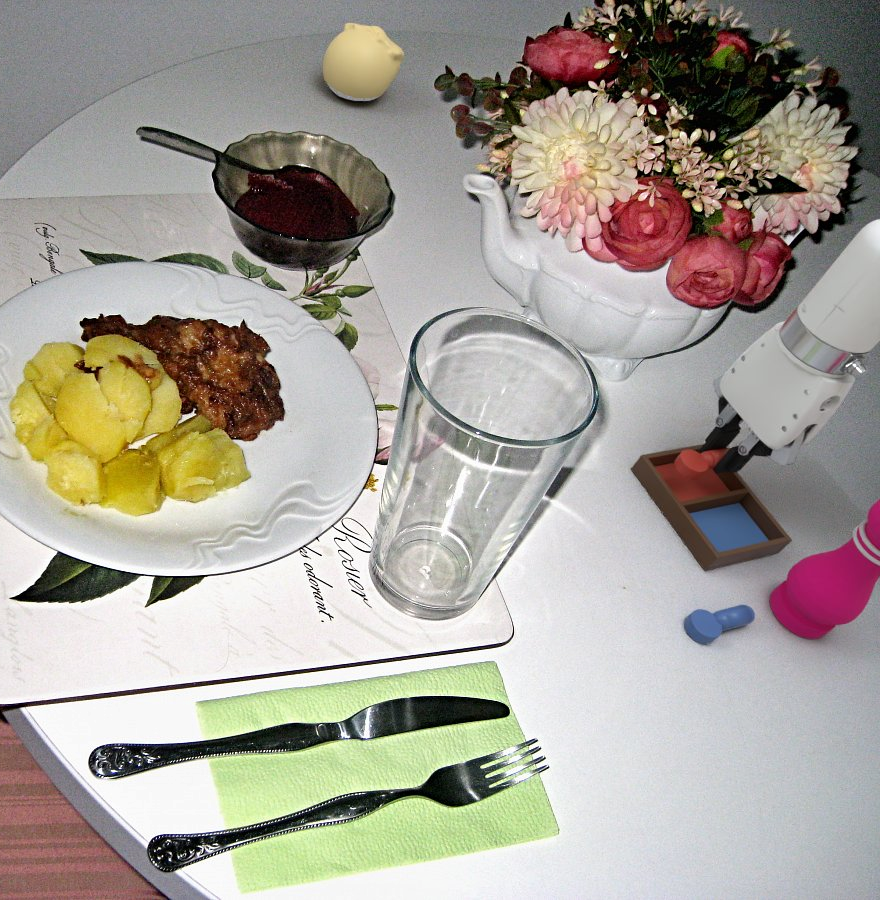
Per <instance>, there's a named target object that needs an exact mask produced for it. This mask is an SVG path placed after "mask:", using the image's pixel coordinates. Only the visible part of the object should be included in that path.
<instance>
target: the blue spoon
mask: <svg viewBox="0 0 880 900" xmlns="http://www.w3.org/2000/svg"><path fill="white" fill-rule="evenodd" d="M755 613H756V612H755V610H754V609H753V608H752V607H751V606H749V605H748V604H738V605H734V606H731V607H726V608H723V609H720V610H716V611H714V612H713V613H712V612H711V611H709V610H707V609H702V608H699V609H695V610H693V611H692V612H691V613H690V614H688V616H686V618H685V620H684V623H683V624H684V625H683V626H684V629H685V632H686V634H687V635H688V636H689V638H691V639H692V640H694V641H695V642H696V643H699V644H703V645H710V644H712V643H713V642H715V641H716V640H717V639H718V638H719V637H721V634H722V633H723V632H724V631H729V630H732V629H736V628H739V627H743V626H747V625H750V624H751V623H752V622H754V620H755V617H756V614H755Z"/></svg>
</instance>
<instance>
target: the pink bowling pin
mask: <svg viewBox="0 0 880 900" xmlns="http://www.w3.org/2000/svg"><path fill="white" fill-rule="evenodd" d="M879 578H880V498H879V499H877V500H876V501H875V502H874V503H873V504H872V505H871V506H870V508H869V510H868V513H867V517H866V519H864V520H862V521H861V522H860V524H858V525H857V526H855V527H854V528H853V530H852V537H851V538H850V539H849V540H848V541H846V542H845V543H844V544H843V545H841V546H840V547H838V548H836V549H833V550H828V551H825V552H824V551H823V552H820V553H815V554H811V555H809V556H806V557H804V558H802V559H800V560H799V561H798V562H796V563H795V564H793V565H792V566H791V568H790V569H789V571H788V573H787V576H786V580H783V581H782V582H781V583H780V584H779V585H778V586H777V587H776V588H774V589H773V590H772V592H771V593H770V596H769V604H770V608H771V611H772V613H773V615H774V616H775V618H776V619H777V620H778V621H779V623H780V624H781V625H782V626H783V627H784V628H786V629H787V630H788V631H790V632H791V633H793V634H794V635H797V636H798V637H801V638H804V639H809V640H815V639H822V638H823V637H824V636H826V635H827V634H828V633H830V632H831V631H832V630H834V628H835V627H836V626H842V625H843V626H844V625H848V624H850V623H852V622H853V621H855V619H857V618H858V617H859V616H860V615H861V614H862V613H863V611H864V610H865V609H866V607H867V606H868V603H869V601H870V599H871V595H872V594H873V590H874V588H875V586H876V583H877V582H878V580H879Z"/></svg>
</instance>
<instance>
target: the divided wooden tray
mask: <svg viewBox="0 0 880 900" xmlns="http://www.w3.org/2000/svg"><path fill="white" fill-rule="evenodd" d="M704 444H705V443H702V444H697V445H691V446H685V447H680V448H674V449H668V450H662V451H656V452H651V453H646V454H640V456H639V457H638V458H637V460H636V461H635V462H634V464H633V465H632V467H631V468H630V470H631V471H632V473H633V474H634V475H635V477H636V478H637V480H638V481H639V483H640V484H641V485H642V486H643V488H644V489H645V490H646V492H647V493H648V495H649V496H650V498H651V499H652V500H653V502H654V503H655V505H656V506H657V507H658V509H659V510H660V511H661V512H662V515H663V516H664V517H665V518H666V520H667V521H668V522H669V524H670V525H671V527H672V528H673V529H674V531H675V532H676V533H677V535H678V536H679V537H680V539H681V540H682V542H683V543H684V545H685V546H686V547H687V549H688V550H689V551H690V553H691V554H692V556H693V557H694V559H696V561H697V563H698V564H699V566H700V567H701V568H702V570H703V571H704V572H706V571H711V570H715V569H719V568H723V567H727V566H731V565H736V564H739V563H744V562H748V561H751V560H756V559H759V558H763V557H768V556H771V555H776V554H779V553H781V552H782V551H783V550H784V549H785V548H786V547H787V546H788V545H789V544H790V543H791V542H792V541H793V539H792V537H791V536H790V535H789V534H788V533H787V531H786V530H785V529H784V528H783V527H782V525H781V524H780V523H779V521H778V520H777V519H776V518H775V517H774V515H773V514H772V513H771V512H770V511H769V510H768V508H767V507H766V506H765V504H764V503H763V502H762V501H761V500H760V498H759V497H758V496H757V495H756V494H755V492H754V491H753V490H752V489H751V487H750V486H749V484H748V483H747V482H746V481H745V480H744V479H743V477H742V476H741V475H740V474H739V472H735V473H730V472H725V473H720V474H717V475H718V477H719V478H720V479H721V481H722V482H723V483H724V484H725V486H726V487H727V488H728V489H729V491H735V490H740V489H745V488H746V489H747V491H748V493H747V495H746V496H745V497H744V498H743V499H742V500H741V501H740V502H739V503H740V504H741V506H742V507H743V508H744V510H745V511H746V512H747V513H748V515H749V516H750V517H751V518H752V520H753V521H754V522H755V523H756V525H757V526H758V527H759V528H760V530H761V531H762V532H763V534H764V535H765V536H766V537H767V539H768V540H769V541H766V542H761V543H757V544H753V545H749V546H744V547H740V548H736V549H732V550H727V551H723V552H719V553H718V551H717V550H716V549H715V547H714V546H713V545H712V543H711V542H710V541H709V539H708V538H707V537H706V535H705V534H704V533H703V531H702V530H701V529H700V527H699V526H698V525H697V523H696V522H695V521H694V519H693V518H692V517H691V515H690V514H689V513H688V511H687V510H686V509H685V507H684V506H683V505H682V503H681V502H680V501H679V499H678V498H677V496H676V495H675V494H674V492H673V491H672V490H671V488H670V487H669V486H668V484H667V483H666V482H665V480H664V479H663V478H662V476H661V475H660V474H659V472H658V471H657V470H656V468H655V466H660V465H666V464H671V463H674V461H675V459H676V458H677V457H678V456H679V455H680V453H681V452H682V451H683V450H687V449H690V450H694V451H696V452H698V453H699V450H700V448H701V447H702V446H703V445H704ZM712 469H713V470H714V468H712ZM726 506H727V505H726ZM712 509H713V508H712ZM693 513H694V512H693Z"/></svg>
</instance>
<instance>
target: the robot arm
mask: <svg viewBox="0 0 880 900" xmlns="http://www.w3.org/2000/svg"><path fill="white" fill-rule="evenodd" d="M878 343H880V218H879V219H874V220H872V221H870V222H868V223H867V224H866V225H865V226H863V227H861V229H860V230H859V231H858V232H857V233H856V235H855V236H854V237H853V238H852V240H851V241H850V242H849V243H848V244H847V246H846V247H845V248H844V249H843V251H842V252H841V253H840V254H839V255H838V256H837V257H836V259H835V260H834V261H833V262H832V264H831V266H829V267H828V269H827V270H826V271H825V273H824V274H823V275H822V276H821V277H820V279H819V280H818V281H817V283H816V284H815V285H813V287H812V289H810V291H809V292H808V293H807V295H805V297H804V298H803V299H802V301H801V302H800V303H799V304H798V305H797V307H796V308H795V309H794V310H793V311H792V313H791V314H790V315H789V317H788V318H786V320H785V321H780V322H777V323H776V324H775V325H773V326H772V327H771V328H769V329H768V330H767V331H766V332H764V333H763V334H762V335H760V337H758V338H757V339H756V340H755V341H754V342H753V343H751V344H750V345H749V346H748V348H746V349H745V350H744V351H743V353H741V354H740V355H739V356H738V357H737V359H735V361H734V362H733V363H732V364H731V365H730V367H728V369H727V370H726V372H724V374H723V375H721V376H719V377H717V378H715V379H714V380H713V381H712V386H713V389H714V392H715V395H716V397H717V398H718V401H717V404H718V405H717V407H718V414H717V415H718V416H716V418H715V420H714V423H715V427H714V428H713V429H712V430H711V431H710V432H709V434H708V435H707V436H706V437H705V439H704V443H703V444H704V445H703V446H702V447H701V448H700V450H699V453H700V454H701V453H702V452H705V451H709V450H715V449H721V448H728V447H729V445H730V444H731V443H732V442H733V441H734V440H735V438H736V437H737V436H738V435H739V434H740V433H741V430H742V427H741V424H742V423H743V422H745V423H746V425H747V426H748V427H749V428H750V430H751V432H750V433H748V435H747V436H746V438H745V439H743V440H742V442H741V443H740V444H739V445H735V446H731V447H729V448H730V449H729V450H728V452H727V453H726V454H725V455H724V456H723V457H722V458H721V460H720V461H719V462H718V463H717V464H716V466H715V467H714V472H715V473H716V474H720V473H725V472H730V473H735V472H737V473H739V471H741V470H742V469H743V468H744V467H745V466H746V465H747V463H749V462H750V461H751V459H753V457H763V458H764V457H765V458H767V459H769V460H770V461H772V462H774V463H776V464H778V465H780V466H781V467H786V466H791V465H794V464H795V463H796V460H797V458H798V455H799V452H800V449H801V447H803V446H805V445H807V444H809V443H810V442H811V441H812V440H813V439H815V437H816V436H817V435H818V434H819V432H820V431H821V430H822V429H823V428H824V427H825V425H826V424H828V422H829V420H830V419H831V418H832V417H833V415H834V414H835V413H836V412H837V410H838V409H839V408H840V406H841V405H842V403H843V402H844V400H845V398H846V397H847V396H848V394H849V392H850V390H851V389H852V387H853V385H854V383H855V381H856V380H857V381H860V380H862V379H864V378H865V377H867V376H868V375H869V374H870V372H871V370H870V369H869V367H867V366H866V365H867V363H865V361H866V359H867V358H868V357H869V356H870V355H871V351H872V350H873V349H874V347H876V345H877V344H878Z"/></svg>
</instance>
